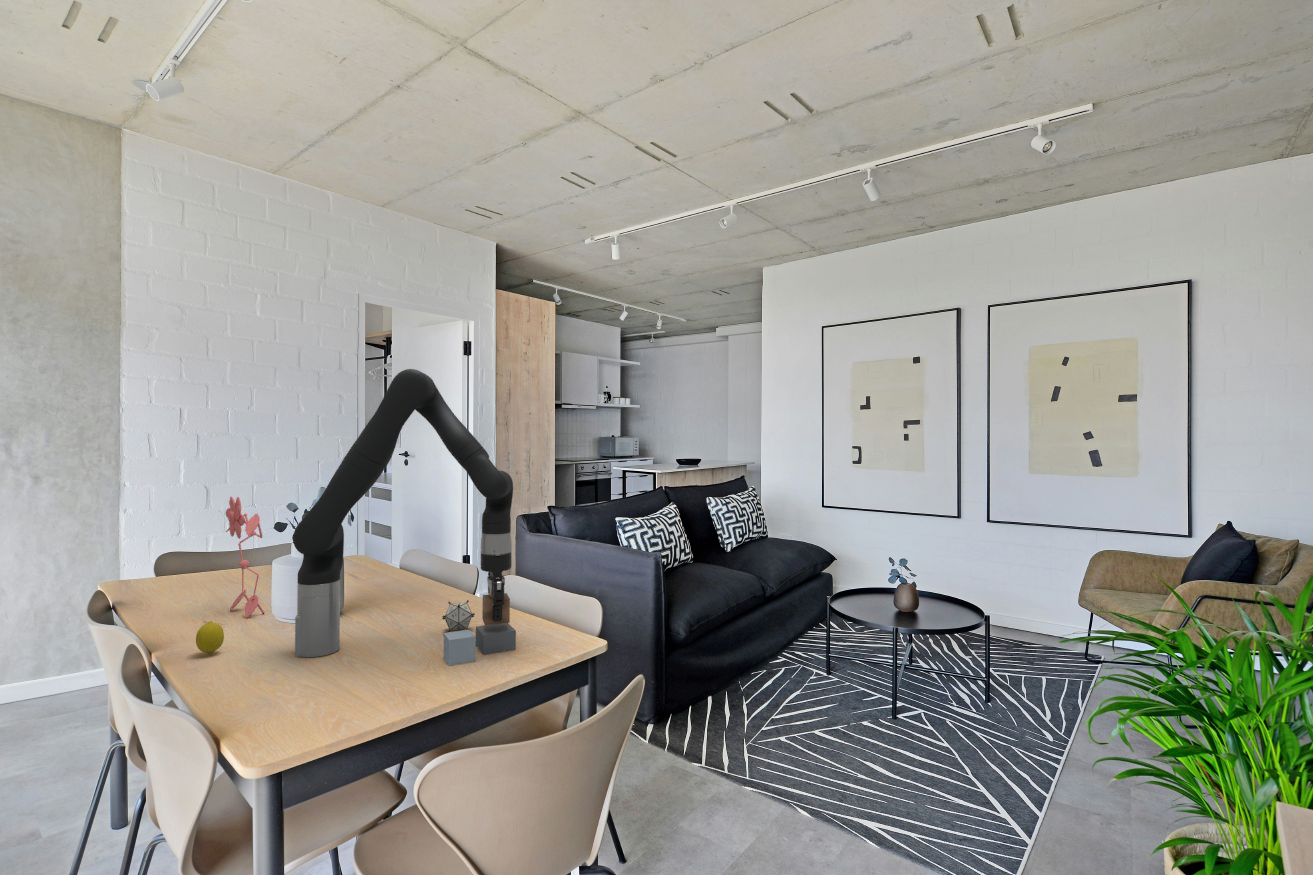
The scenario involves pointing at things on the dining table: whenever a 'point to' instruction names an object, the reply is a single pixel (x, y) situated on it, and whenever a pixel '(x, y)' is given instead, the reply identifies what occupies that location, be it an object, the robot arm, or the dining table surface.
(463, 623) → the game die
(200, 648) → the lemon
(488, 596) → the walnut cube
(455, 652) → the slate cube
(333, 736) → the dining table surface
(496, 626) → the charcoal block
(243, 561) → the pink stick figure
